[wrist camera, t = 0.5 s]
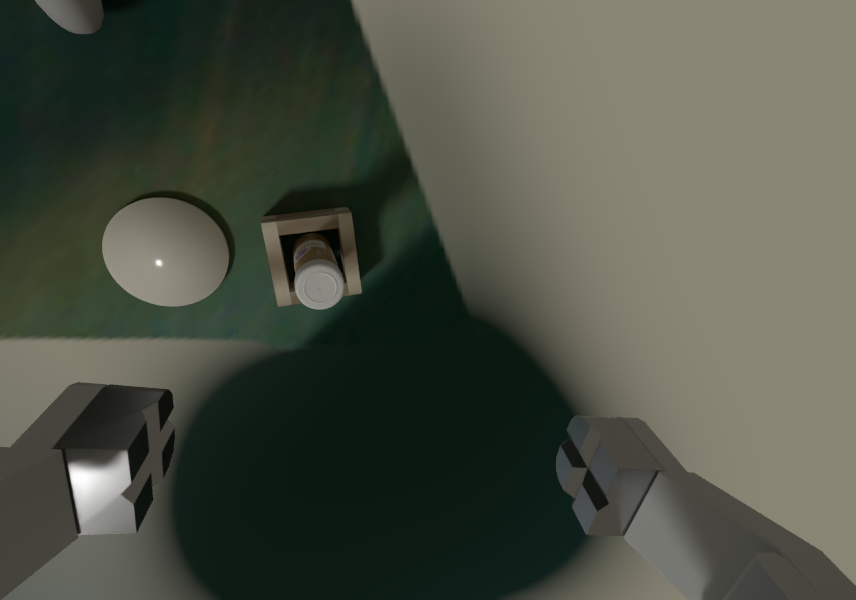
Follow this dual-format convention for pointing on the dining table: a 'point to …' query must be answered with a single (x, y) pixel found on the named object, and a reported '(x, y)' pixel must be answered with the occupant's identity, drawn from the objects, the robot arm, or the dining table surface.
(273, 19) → the dining table surface
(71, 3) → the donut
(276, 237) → the holder collar
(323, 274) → the sprinkles bottle
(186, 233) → the white domed disc
